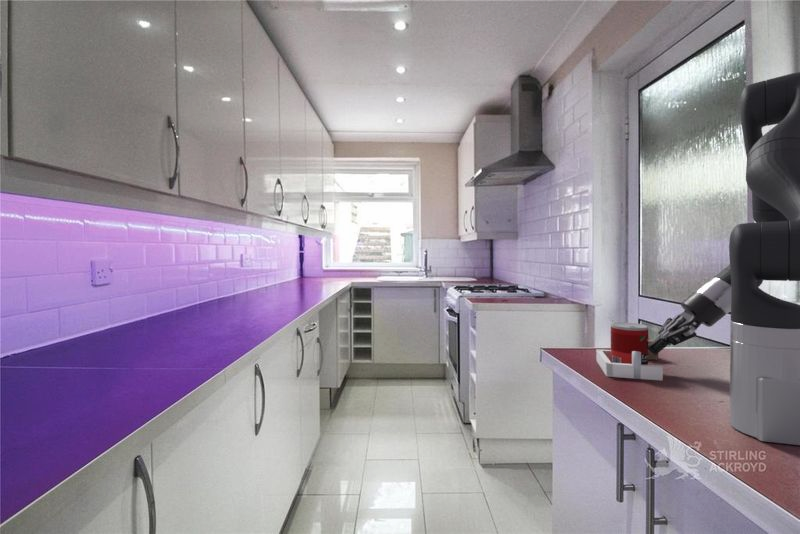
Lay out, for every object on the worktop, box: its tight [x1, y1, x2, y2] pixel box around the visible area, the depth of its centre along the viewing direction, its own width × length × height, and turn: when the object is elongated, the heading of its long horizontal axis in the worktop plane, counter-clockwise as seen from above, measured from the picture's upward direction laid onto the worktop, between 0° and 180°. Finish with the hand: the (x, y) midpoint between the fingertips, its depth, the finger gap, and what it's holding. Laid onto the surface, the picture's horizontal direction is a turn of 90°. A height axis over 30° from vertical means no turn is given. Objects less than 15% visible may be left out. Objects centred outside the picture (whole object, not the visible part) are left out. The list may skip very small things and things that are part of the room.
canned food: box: [610, 321, 649, 365], centre depth 95 cm, size 8×8×11 cm
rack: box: [595, 348, 664, 382], centre depth 95 cm, size 15×11×6 cm
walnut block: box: [648, 337, 659, 360], centre depth 106 cm, size 5×5×5 cm
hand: (650, 351), depth 93 cm, fingers closed
